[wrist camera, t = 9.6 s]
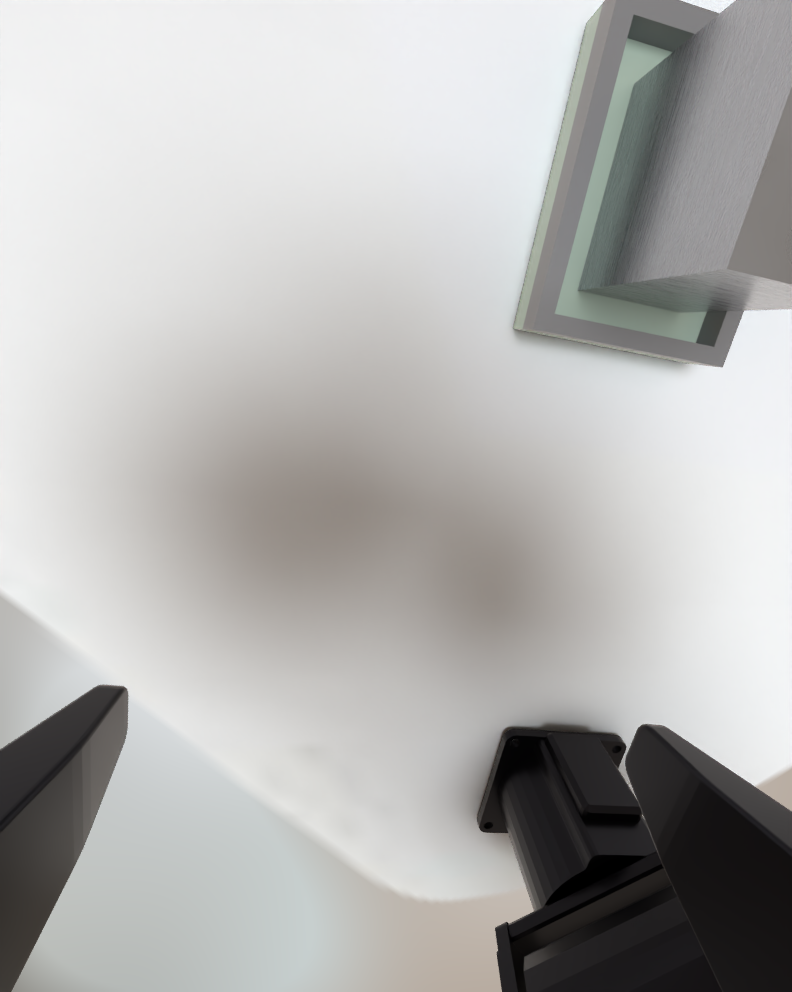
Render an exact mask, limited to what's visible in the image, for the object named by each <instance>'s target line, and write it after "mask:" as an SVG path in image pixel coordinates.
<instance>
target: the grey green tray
mask: <svg viewBox="0 0 792 992" xmlns="http://www.w3.org/2000/svg"><path fill="white" fill-rule="evenodd" d="M718 15H719V13H716V12H713V11H710V10H707V9H704V8H701V7H698V6H695V5H692V4H689V3H686V2H683V1H680V0H605V1H604V2H603V4H602V5H601V6H600V7H599V9H598V10H597V11H596V12H595V13H594V15H593V16H592V17H591V18H590V20H589V21H588V22H587V24H586V28H585V32H584V36H583V40H582V45H581V49H580V53H579V57H578V61H577V65H576V70H575V74H574V78H573V82H572V86H571V90H570V94H569V99H568V103H567V107H566V111H565V115H564V119H563V123H562V128H561V132H560V136H559V140H558V144H557V148H556V153H555V157H554V161H553V165H552V169H551V173H550V177H549V182H548V186H547V190H546V194H545V198H544V202H543V206H542V211H541V215H540V219H539V223H538V227H537V231H536V236H535V240H534V244H533V248H532V252H531V256H530V260H529V265H528V269H527V273H526V277H525V281H524V285H523V289H522V294H521V298H520V302H519V306H518V310H517V314H516V319H515V323H514V327H513V329H517V330H522V331H527V332H532V333H537V334H542V335H547V336H552V337H557V338H562V339H567V340H572V341H577V342H582V343H587V344H592V345H597V346H602V347H607V348H612V349H617V350H622V351H627V352H632V353H637V354H642V355H647V356H652V357H657V358H662V359H667V360H672V361H677V362H682V363H688V364H697V365H706V366H715V367H723V365H724V362H725V360H726V357H727V354H728V352H729V349H730V346H731V344H732V341H733V338H734V336H735V333H736V330H737V328H738V325H739V322H740V320H741V317H742V314H743V312H744V311H716V312H687V313H679V312H674V311H670V310H665V309H661V308H656V307H651V306H647V305H642V304H638V303H633V302H628V301H624V300H619V299H615V298H610V297H606V296H601V295H596V294H592V293H587V292H583V291H578V287H579V283H580V279H581V276H582V272H583V268H584V265H585V261H586V257H587V254H588V250H589V246H590V243H591V239H592V235H593V232H594V228H595V224H596V221H597V217H598V213H599V210H600V206H601V203H602V199H603V195H604V192H605V188H606V184H607V181H608V177H609V173H610V170H611V166H612V162H613V159H614V155H615V151H616V148H617V144H618V140H619V137H620V133H621V129H622V126H623V122H624V118H625V115H626V111H627V107H628V104H629V100H630V96H631V93H632V89H633V86H634V83H636V82H637V81H638V80H639V79H640V78H642V77H643V76H644V75H645V74H647V73H648V72H649V71H650V70H652V69H653V68H654V67H655V66H656V65H658V64H659V63H660V62H661V61H663V60H664V59H665V58H666V57H667V56H669V55H670V54H671V53H672V52H674V51H675V50H676V49H677V48H678V47H680V46H681V45H682V44H683V43H685V42H686V41H687V40H688V39H689V38H691V37H692V36H693V35H694V34H696V33H697V32H698V31H699V30H700V29H702V28H703V27H704V26H705V25H707V24H708V23H709V22H710V21H711V20H713V19H714V18H715V17H716V16H718Z"/></svg>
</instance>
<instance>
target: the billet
mask: <svg viewBox="0 0 792 992" xmlns="http://www.w3.org/2000/svg"><path fill="white" fill-rule="evenodd" d="M578 291H583V292H587V293H592V294H596V295H601V296H606V297H610V298H615V299H619V300H624V301H628V302H633V303H638V304H642V305H647V306H651V307H656V308H661V309H665V310H670V311H674V312H679V313H687V312H716V311H746V310H775V309H792V0H736V1H735V2H733V3H732V4H731V5H730V6H729V7H727V8H726V9H725V10H724V11H722V12H721V13H720V14H719V15H718V16H716V17H715V18H714V19H713V20H711V21H710V22H709V23H708V24H707V25H705V26H704V27H703V28H702V29H700V30H699V31H698V32H697V33H696V34H694V35H693V36H692V37H691V38H689V39H688V40H687V41H686V42H685V43H683V44H682V45H681V46H680V47H678V48H677V49H676V50H675V51H674V52H672V53H671V54H670V55H669V56H667V57H666V58H665V59H664V60H663V61H661V62H660V63H659V64H658V65H656V66H655V67H654V68H653V69H652V70H650V71H649V72H648V73H647V74H645V75H644V76H643V77H642V78H640V79H639V80H638V81H637V82H636V83H634V86H633V89H632V93H631V96H630V100H629V104H628V107H627V111H626V115H625V118H624V122H623V126H622V129H621V133H620V137H619V140H618V144H617V148H616V151H615V155H614V159H613V162H612V166H611V170H610V173H609V177H608V181H607V184H606V188H605V192H604V195H603V199H602V203H601V206H600V210H599V213H598V217H597V221H596V224H595V228H594V232H593V235H592V239H591V243H590V246H589V250H588V254H587V257H586V261H585V265H584V268H583V272H582V276H581V279H580V283H579V287H578Z"/></svg>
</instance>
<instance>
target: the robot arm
mask: <svg viewBox="0 0 792 992" xmlns="http://www.w3.org/2000/svg"><path fill="white" fill-rule="evenodd" d="M127 728H128V691H127V689H126V688H125V687H124V686H114V685H99V686H96V687H94V688H93V689H91V690H90V691H88V692H87V693H85V694H84V695H82V696H81V697H79V698H78V699H76V700H75V701H73V702H71V703H70V704H68V705H67V706H65V707H64V708H62V709H61V710H59V711H58V712H56V713H55V714H53V715H52V716H50V717H49V718H47V719H46V720H44V721H43V722H41V723H40V724H38V725H36V726H35V727H34V728H32V729H30V730H29V731H27V732H26V733H24V734H23V735H21V736H20V737H18V738H17V739H15V740H14V741H12V742H11V743H9V744H8V745H6V746H5V747H3V748H2V749H0V992H11V991H12V989H13V987H14V985H15V983H16V981H17V979H18V977H19V975H20V974H21V972H22V970H23V968H24V966H25V964H26V962H27V960H28V958H29V956H30V953H31V952H32V950H33V948H34V946H35V944H36V942H37V940H38V938H39V936H40V934H41V932H42V930H43V928H44V926H45V924H46V922H47V920H48V918H49V916H50V914H51V912H52V910H53V908H54V906H55V904H56V902H57V900H58V898H59V896H60V894H61V892H62V890H63V888H64V886H65V884H66V882H67V880H68V878H69V876H70V874H71V872H72V870H73V868H74V866H75V864H76V862H77V860H78V858H79V856H80V854H81V852H82V849H83V847H84V845H85V842H86V840H87V837H88V835H89V833H90V830H91V828H92V825H93V822H94V820H95V817H96V815H97V812H98V810H99V807H100V804H101V802H102V799H103V797H104V794H105V791H106V789H107V786H108V784H109V781H110V778H111V776H112V773H113V771H114V768H115V766H116V763H117V760H118V758H119V755H120V752H121V750H122V748H123V745H124V742H125V739H126V734H127ZM514 739H515V740H514ZM512 740H514V741H512ZM625 750H626V745H625V743H624V742H623V740H622V739H621V737H619V736H616V735H602V734H586V733H570V732H554V731H538V730H523V729H511V730H508V731H507V732H505V733H504V735H503V737H502V740H501V744H500V747H499V750H498V753H497V756H496V760H495V763H494V766H493V769H492V773H491V776H490V779H489V782H488V785H487V789H486V792H485V795H484V798H483V802H482V805H481V808H480V811H479V814H478V818H477V822H478V825H479V828H480V830H481V831H482V832H487V833H508V834H509V837H510V840H511V843H512V846H513V849H514V852H515V855H516V858H517V861H518V864H519V867H520V870H521V873H522V876H523V879H524V882H525V885H526V888H527V891H528V894H529V897H530V900H531V903H532V906H533V909H534V912H532V913H530V914H528V915H526V916H524V917H522V918H520V919H518V920H516V921H514V922H512V923H510V924H508V923H507V922H505V923H503V924H501V925H499V926H497V927H496V928H495V931H496V938H497V945H498V951H497V959H498V966H499V973H500V980H501V987H502V992H792V811H790V810H788V809H787V808H785V807H784V806H783V805H781V804H780V803H778V802H777V801H775V800H774V799H772V798H771V797H769V796H768V795H766V794H765V793H763V792H762V791H760V790H759V789H757V788H756V787H754V786H753V785H752V784H750V783H749V782H747V781H746V780H744V779H743V778H741V777H740V776H738V775H737V774H735V773H734V772H732V771H731V770H729V769H728V768H726V767H725V766H723V765H722V764H720V763H719V762H717V761H716V760H714V759H713V758H711V757H710V756H708V755H707V754H705V753H704V752H702V751H701V750H699V749H698V748H697V747H695V746H694V745H692V744H691V743H689V742H688V741H686V740H685V739H683V738H682V737H680V736H679V735H677V734H676V733H674V732H673V731H671V730H670V729H668V728H667V727H665V726H662V725H652V724H643V725H641V726H640V727H639V728H638V729H637V732H636V734H635V736H634V739H633V741H632V743H631V746H630V748H629V751H628V753H627V755H626V760H625V766H626V771H627V774H628V777H629V779H630V782H631V785H632V787H633V790H634V793H635V795H636V797H635V796H634V794H633V792H632V791H631V789H630V788H629V786H628V784H627V783H626V781H625V780H624V778H623V776H622V775H621V773H620V772H619V770H618V767H619V765H620V763H621V760H622V758H623V755H624V753H625ZM636 798H637V799H636ZM642 815H643V816H644V818H643V816H642Z"/></svg>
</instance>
